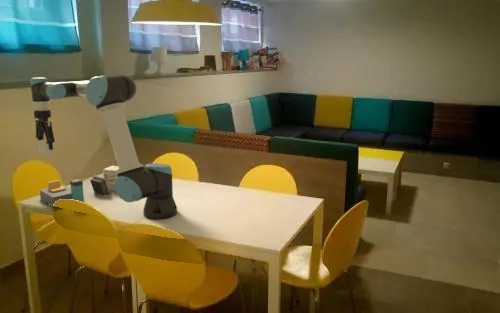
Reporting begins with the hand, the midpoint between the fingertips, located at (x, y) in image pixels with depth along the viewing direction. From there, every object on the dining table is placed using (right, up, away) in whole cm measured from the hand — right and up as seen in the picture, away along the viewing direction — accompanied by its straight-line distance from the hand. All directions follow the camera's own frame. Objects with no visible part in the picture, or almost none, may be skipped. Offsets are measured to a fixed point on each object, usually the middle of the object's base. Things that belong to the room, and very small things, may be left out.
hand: (46, 154), depth 216 cm
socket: (+7, -23, -2) cm, 24 cm away
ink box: (+29, -19, +17) cm, 39 cm away
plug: (+19, -24, -7) cm, 32 cm away
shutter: (+6, -18, -2) cm, 19 cm away
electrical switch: (+24, -21, +9) cm, 33 cm away
